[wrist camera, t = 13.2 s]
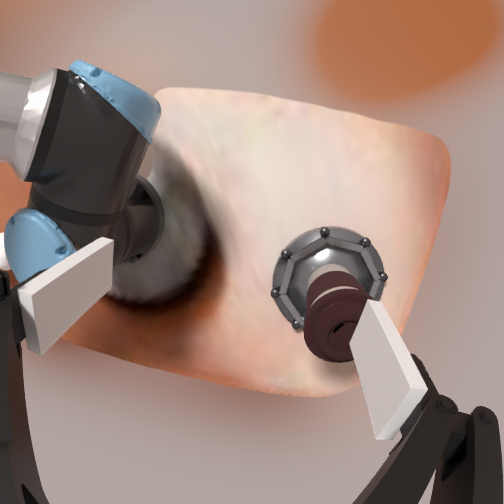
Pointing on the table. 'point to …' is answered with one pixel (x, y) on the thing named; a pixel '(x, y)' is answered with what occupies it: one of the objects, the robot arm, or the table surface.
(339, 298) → the coffee cup
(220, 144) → the table surface
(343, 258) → the grey flat octagonal tray
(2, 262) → the rabbit
